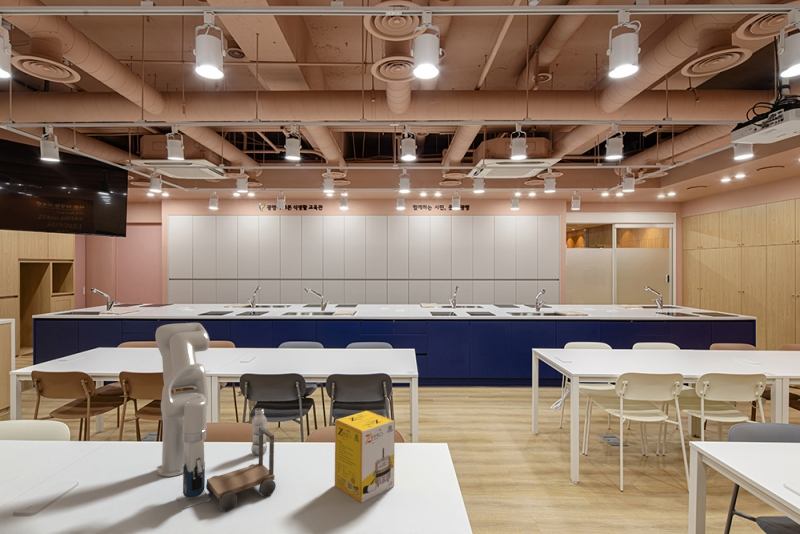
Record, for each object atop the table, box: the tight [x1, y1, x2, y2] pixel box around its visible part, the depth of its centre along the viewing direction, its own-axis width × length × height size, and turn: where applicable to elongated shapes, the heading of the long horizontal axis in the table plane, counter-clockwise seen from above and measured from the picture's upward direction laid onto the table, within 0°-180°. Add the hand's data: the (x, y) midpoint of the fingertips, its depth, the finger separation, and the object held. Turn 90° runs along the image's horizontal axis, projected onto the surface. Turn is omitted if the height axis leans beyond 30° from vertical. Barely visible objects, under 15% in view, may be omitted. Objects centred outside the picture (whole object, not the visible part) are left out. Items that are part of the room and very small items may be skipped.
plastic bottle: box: [250, 407, 268, 456], centre depth 181 cm, size 6×7×20 cm
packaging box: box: [334, 410, 396, 503], centre depth 154 cm, size 16×16×25 cm
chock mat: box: [176, 489, 212, 510], centre depth 144 cm, size 9×9×1 cm
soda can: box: [182, 461, 206, 498], centre depth 144 cm, size 7×7×12 cm
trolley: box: [205, 427, 277, 512], centre depth 148 cm, size 20×16×21 cm
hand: (193, 484), depth 144 cm, fingers closed on soda can, 6 cm apart
